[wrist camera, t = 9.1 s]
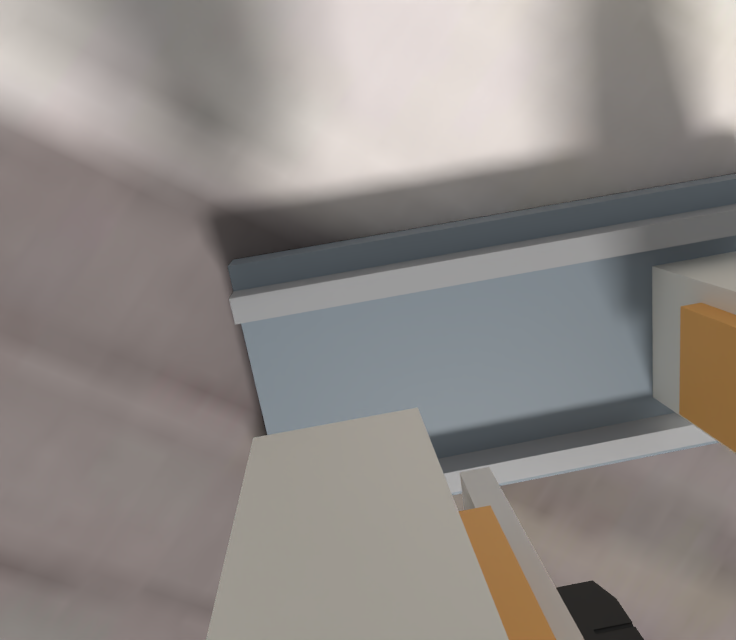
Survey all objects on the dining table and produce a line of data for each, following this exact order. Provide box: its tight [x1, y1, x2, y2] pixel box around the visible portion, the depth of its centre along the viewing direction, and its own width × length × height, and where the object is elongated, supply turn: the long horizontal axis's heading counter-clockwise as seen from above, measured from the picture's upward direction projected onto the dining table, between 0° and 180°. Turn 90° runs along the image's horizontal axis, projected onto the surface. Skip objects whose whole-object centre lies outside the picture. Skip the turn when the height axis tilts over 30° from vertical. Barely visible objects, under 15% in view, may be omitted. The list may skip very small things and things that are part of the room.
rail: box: [228, 173, 736, 495], centre depth 19 cm, size 12×22×12 cm, turn 99°
